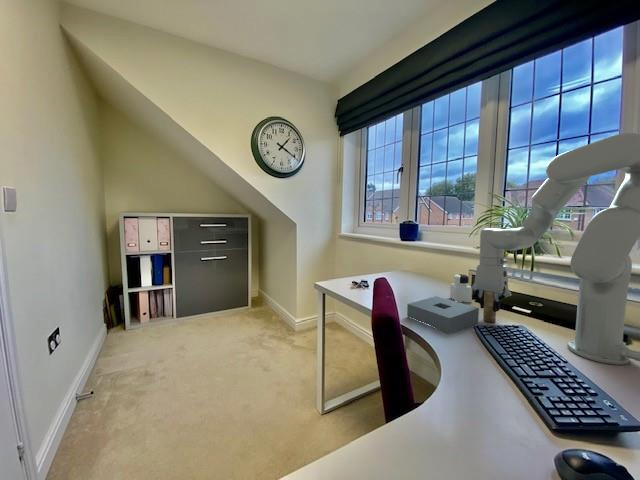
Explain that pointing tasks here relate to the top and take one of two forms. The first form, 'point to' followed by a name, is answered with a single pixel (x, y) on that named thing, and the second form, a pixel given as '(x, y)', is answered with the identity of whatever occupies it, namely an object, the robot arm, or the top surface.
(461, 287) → the medicine bottle
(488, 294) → the oak pin
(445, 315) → the hole block
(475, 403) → the top surface
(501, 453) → the top surface
